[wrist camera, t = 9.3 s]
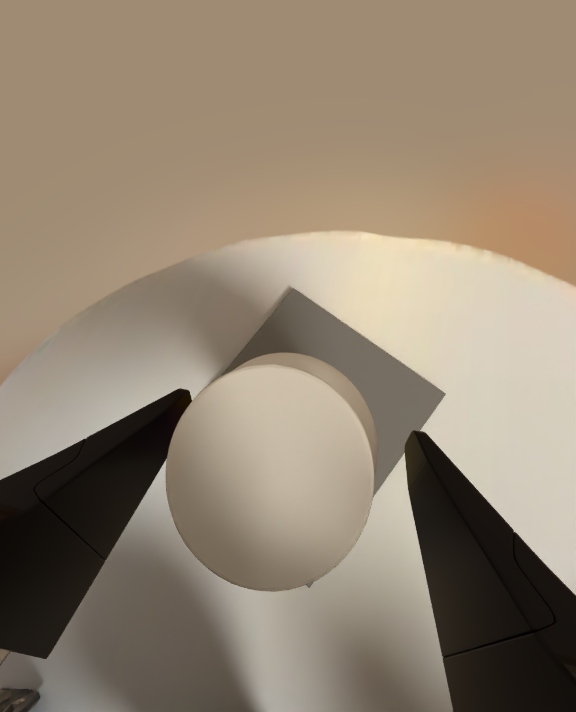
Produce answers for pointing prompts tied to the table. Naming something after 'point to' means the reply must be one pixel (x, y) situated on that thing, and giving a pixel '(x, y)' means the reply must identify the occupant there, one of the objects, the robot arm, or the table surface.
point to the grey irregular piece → (18, 700)
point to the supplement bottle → (273, 472)
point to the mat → (351, 372)
